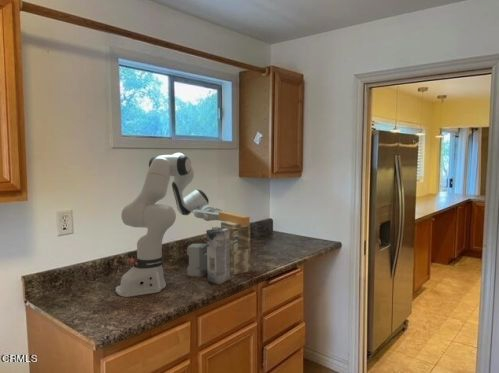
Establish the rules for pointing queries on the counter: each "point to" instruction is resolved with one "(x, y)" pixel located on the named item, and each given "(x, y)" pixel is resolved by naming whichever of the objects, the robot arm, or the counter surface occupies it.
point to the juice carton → (218, 255)
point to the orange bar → (234, 218)
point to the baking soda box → (235, 239)
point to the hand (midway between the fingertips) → (215, 218)
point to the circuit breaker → (197, 260)
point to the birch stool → (239, 248)
